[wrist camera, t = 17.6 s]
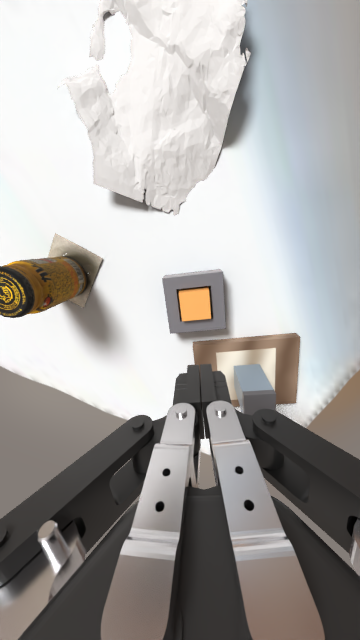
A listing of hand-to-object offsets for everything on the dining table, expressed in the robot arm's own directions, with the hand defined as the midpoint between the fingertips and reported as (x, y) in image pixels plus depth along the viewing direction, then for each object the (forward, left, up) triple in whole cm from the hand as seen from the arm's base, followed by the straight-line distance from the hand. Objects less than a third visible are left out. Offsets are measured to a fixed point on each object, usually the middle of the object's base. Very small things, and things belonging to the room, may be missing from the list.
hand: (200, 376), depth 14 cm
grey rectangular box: (-7, +13, -19) cm, 24 cm away
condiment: (+18, -6, -21) cm, 28 cm away
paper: (+3, -24, -21) cm, 32 cm away
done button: (0, 0, -20) cm, 20 cm away
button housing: (0, 0, -20) cm, 20 cm away
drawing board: (-7, +13, -20) cm, 25 cm away
